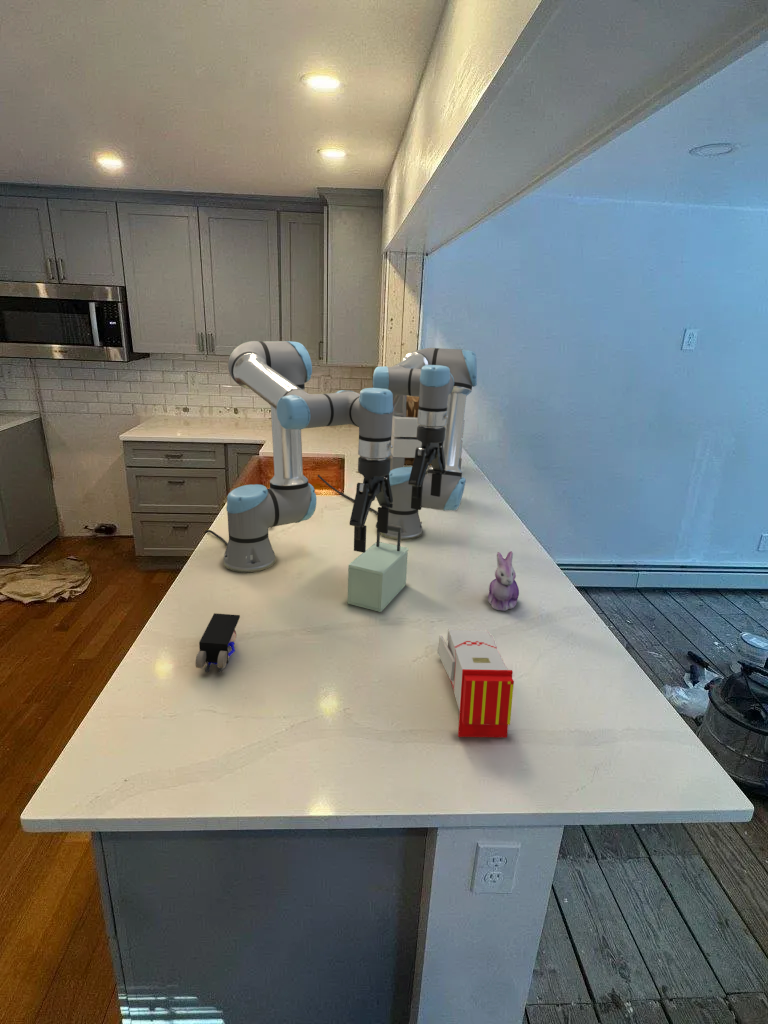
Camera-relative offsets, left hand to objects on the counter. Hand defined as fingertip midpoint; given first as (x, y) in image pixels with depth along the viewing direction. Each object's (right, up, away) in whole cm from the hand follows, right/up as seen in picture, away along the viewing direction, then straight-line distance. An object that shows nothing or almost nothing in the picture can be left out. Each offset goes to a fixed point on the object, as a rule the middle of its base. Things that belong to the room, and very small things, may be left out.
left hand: (371, 541), depth 139 cm
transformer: (+20, +26, +136) cm, 140 cm away
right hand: (+15, +10, +18) cm, 25 cm away
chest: (+1, -16, +19) cm, 24 cm away
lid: (+2, -5, +15) cm, 16 cm away
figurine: (+36, -18, +17) cm, 43 cm away
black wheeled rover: (-33, -25, -13) cm, 44 cm away
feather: (-36, +6, +73) cm, 81 cm away
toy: (+21, -30, -20) cm, 42 cm away
